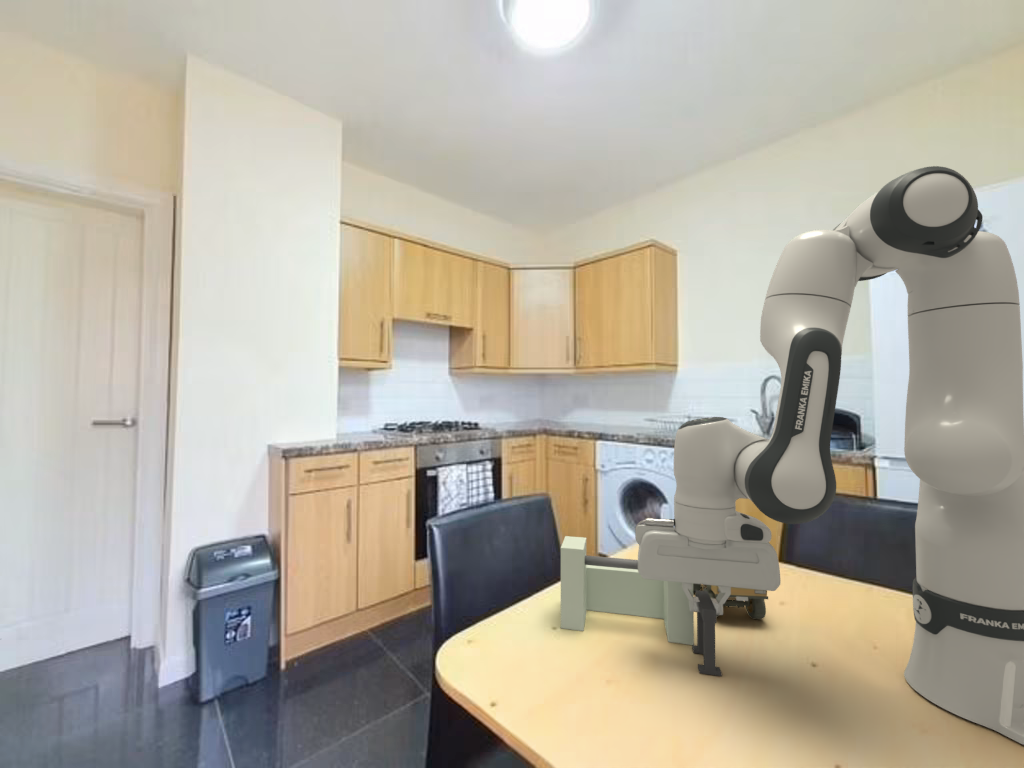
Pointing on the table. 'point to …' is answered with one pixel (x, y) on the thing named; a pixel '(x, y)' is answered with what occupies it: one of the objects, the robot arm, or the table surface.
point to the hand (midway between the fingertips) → (705, 611)
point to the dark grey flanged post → (706, 634)
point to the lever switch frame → (619, 592)
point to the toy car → (741, 599)
